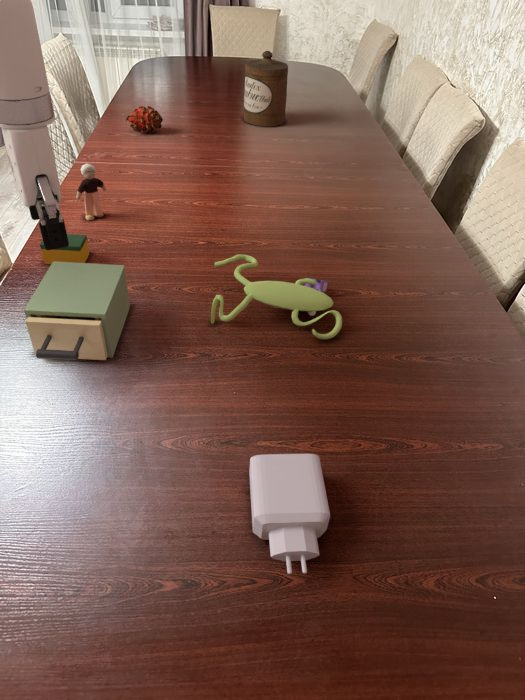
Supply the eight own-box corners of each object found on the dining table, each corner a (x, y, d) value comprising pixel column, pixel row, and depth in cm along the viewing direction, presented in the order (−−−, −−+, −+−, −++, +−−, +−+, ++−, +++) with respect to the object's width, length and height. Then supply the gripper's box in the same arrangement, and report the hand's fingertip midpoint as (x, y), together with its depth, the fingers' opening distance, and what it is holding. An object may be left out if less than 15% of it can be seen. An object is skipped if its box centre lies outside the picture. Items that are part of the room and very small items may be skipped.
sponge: (44, 263, 108) (39, 244, 105) (51, 251, 112) (47, 232, 109) (83, 266, 108) (79, 246, 105) (89, 253, 112) (86, 234, 109)
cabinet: (112, 357, 87) (105, 314, 81) (36, 354, 87) (23, 310, 81) (130, 306, 98) (124, 265, 93) (62, 303, 98) (53, 261, 92)
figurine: (219, 270, 110) (219, 247, 106) (345, 289, 107) (350, 266, 104) (194, 322, 96) (193, 297, 92) (338, 345, 93) (343, 321, 90)
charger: (255, 585, 60) (248, 476, 71) (334, 582, 61) (315, 474, 72) (257, 565, 57) (250, 454, 68) (340, 562, 57) (320, 453, 69)
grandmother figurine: (89, 224, 122) (80, 170, 114) (77, 219, 123) (68, 166, 115) (113, 212, 127) (106, 160, 119) (102, 208, 128) (94, 156, 120)
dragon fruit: (166, 138, 172) (130, 141, 173) (166, 116, 174) (131, 119, 175) (159, 121, 164) (121, 124, 165) (159, 98, 166) (122, 101, 167)
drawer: (98, 381, 82) (91, 345, 77) (25, 377, 81) (13, 341, 77) (123, 311, 96) (118, 277, 91) (60, 308, 95) (52, 274, 91)
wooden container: (235, 118, 188) (236, 48, 173) (265, 111, 196) (269, 44, 182) (263, 129, 180) (267, 58, 166) (293, 122, 188) (299, 53, 174)
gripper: (-21, 91, 69) (12, 211, 80) (-2, 133, 58) (34, 266, 69) (38, 87, 72) (62, 203, 83) (68, 126, 61) (91, 255, 72)
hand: (49, 232), depth 76 cm, fingers open, 9 cm apart
